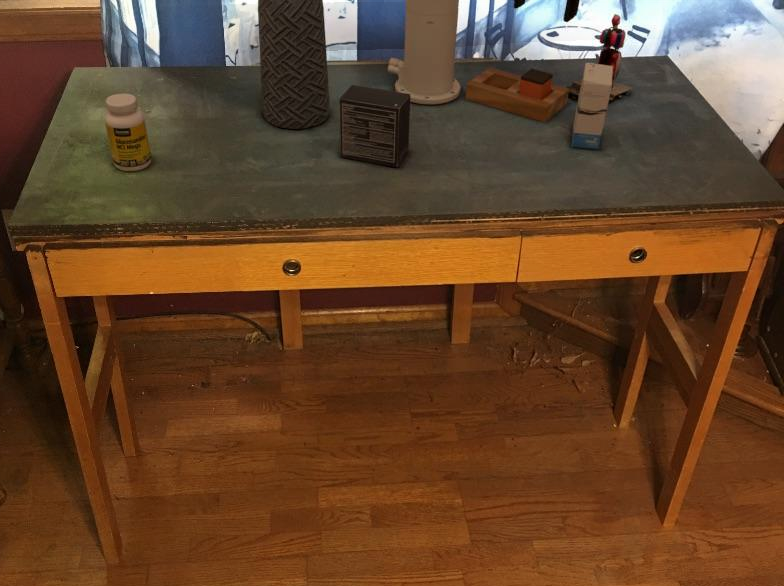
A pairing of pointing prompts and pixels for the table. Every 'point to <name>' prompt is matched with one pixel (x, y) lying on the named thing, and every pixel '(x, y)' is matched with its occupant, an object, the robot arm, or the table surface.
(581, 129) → the ink box
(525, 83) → the orange block
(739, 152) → the table surface
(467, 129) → the table surface
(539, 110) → the wooden compartment tray
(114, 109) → the pill bottle
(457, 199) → the table surface
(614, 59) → the statue
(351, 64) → the table surface
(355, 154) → the small box
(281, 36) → the vase
